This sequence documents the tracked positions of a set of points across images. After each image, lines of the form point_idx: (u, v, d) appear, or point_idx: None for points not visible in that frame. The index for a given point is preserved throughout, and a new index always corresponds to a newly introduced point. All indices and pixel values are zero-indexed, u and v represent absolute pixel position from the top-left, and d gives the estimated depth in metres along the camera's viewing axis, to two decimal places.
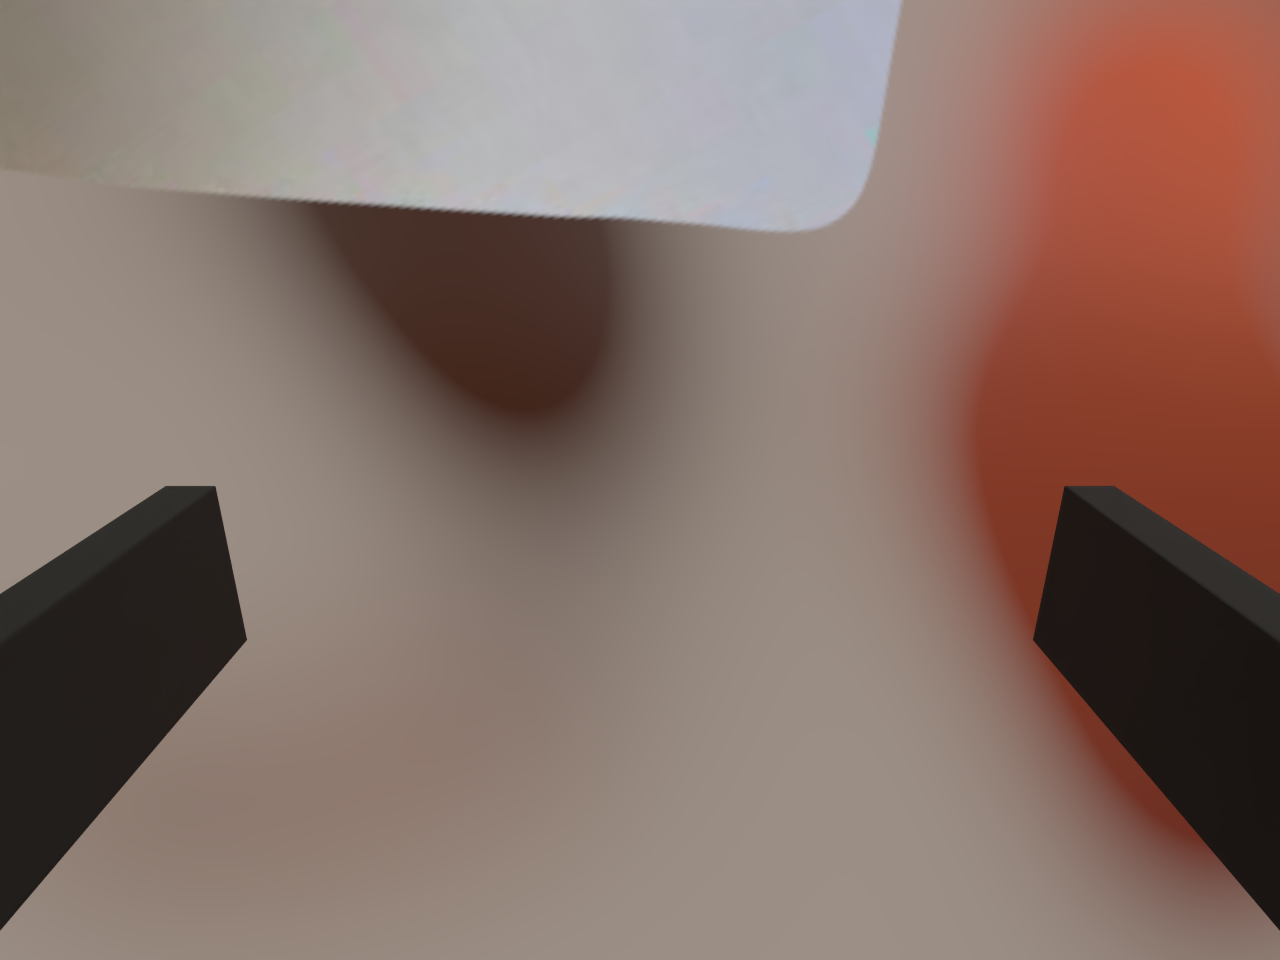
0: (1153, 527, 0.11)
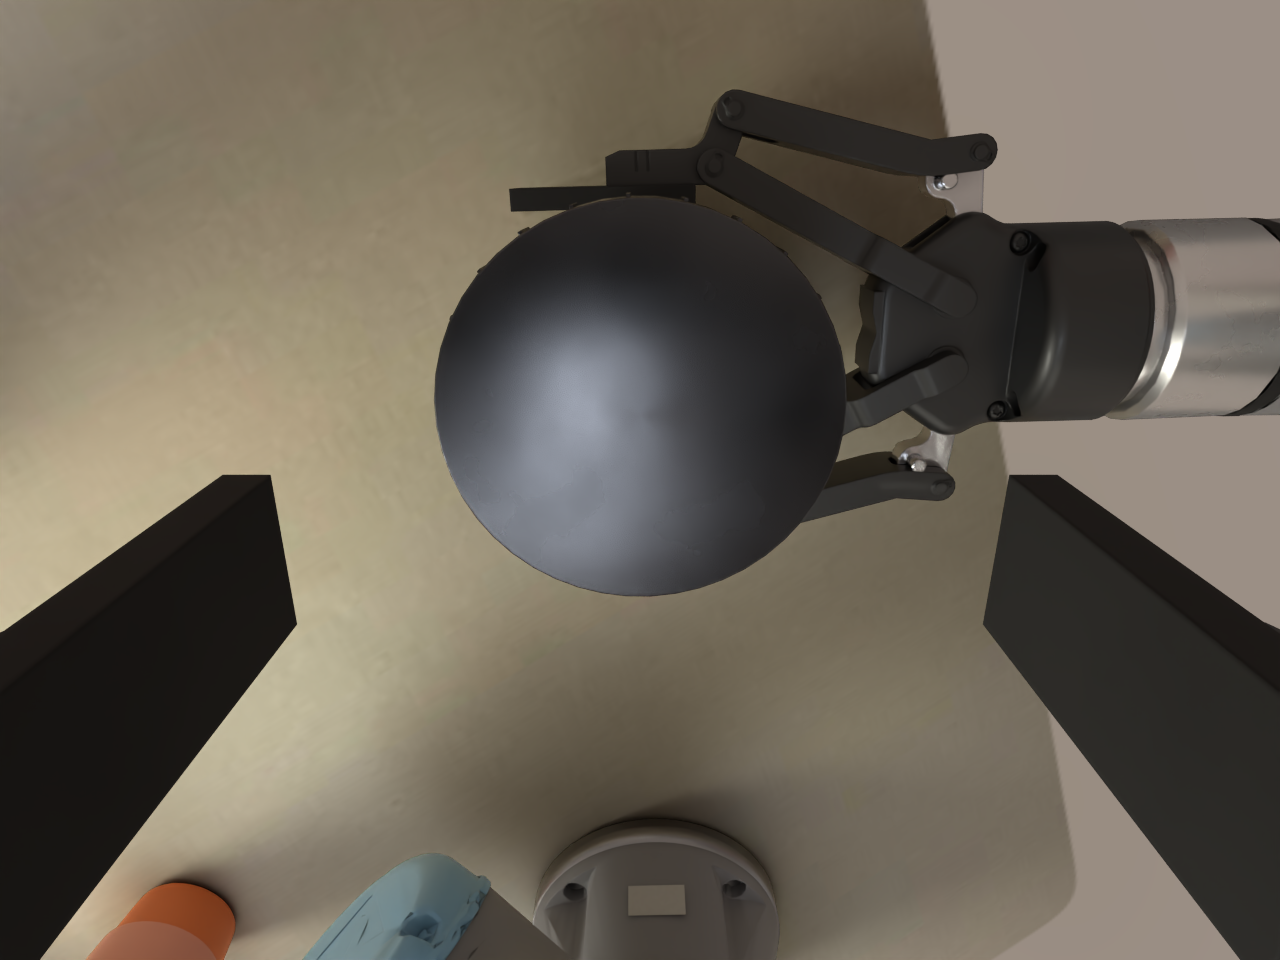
0: (1088, 512, 0.11)
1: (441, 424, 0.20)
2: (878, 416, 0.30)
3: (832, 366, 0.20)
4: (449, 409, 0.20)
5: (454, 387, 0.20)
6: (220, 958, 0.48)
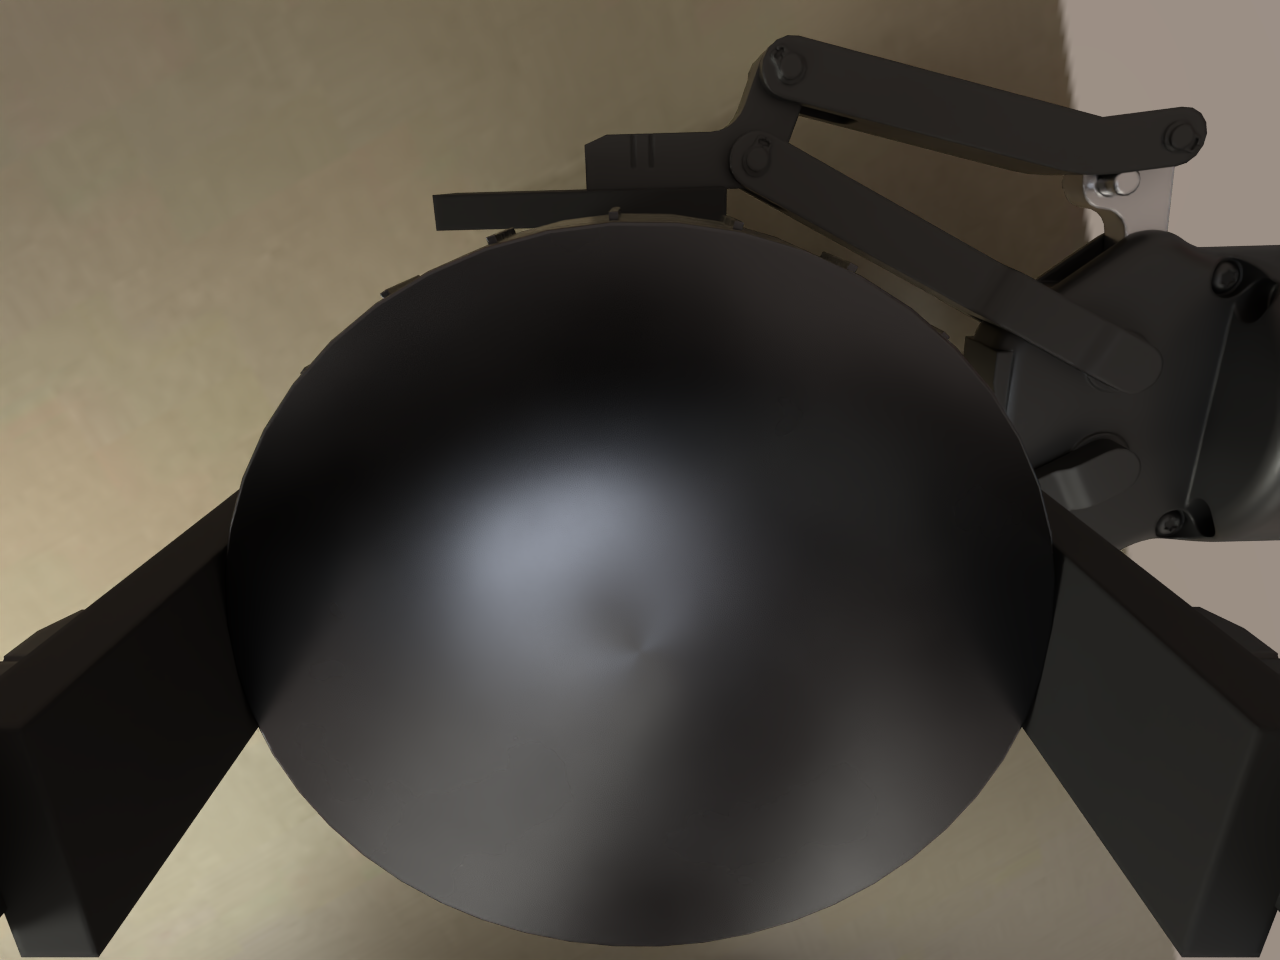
0: None
1: (244, 667, 0.10)
2: None
3: (1031, 562, 0.10)
4: (258, 640, 0.10)
5: (264, 601, 0.10)
6: None
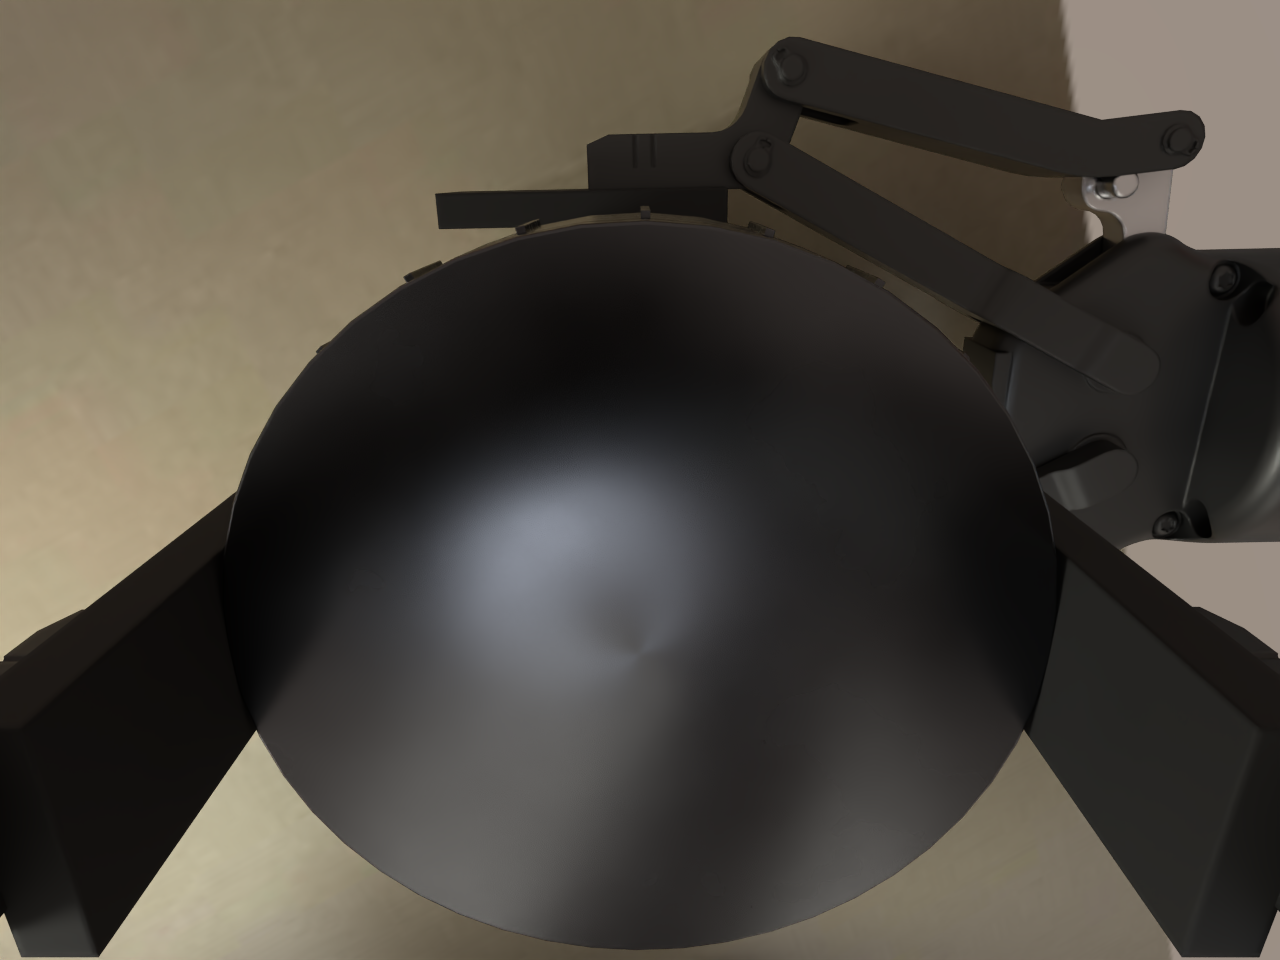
0: None
1: (721, 937, 0.12)
2: None
3: (437, 298, 0.09)
4: (692, 929, 0.12)
5: (652, 926, 0.12)
6: None
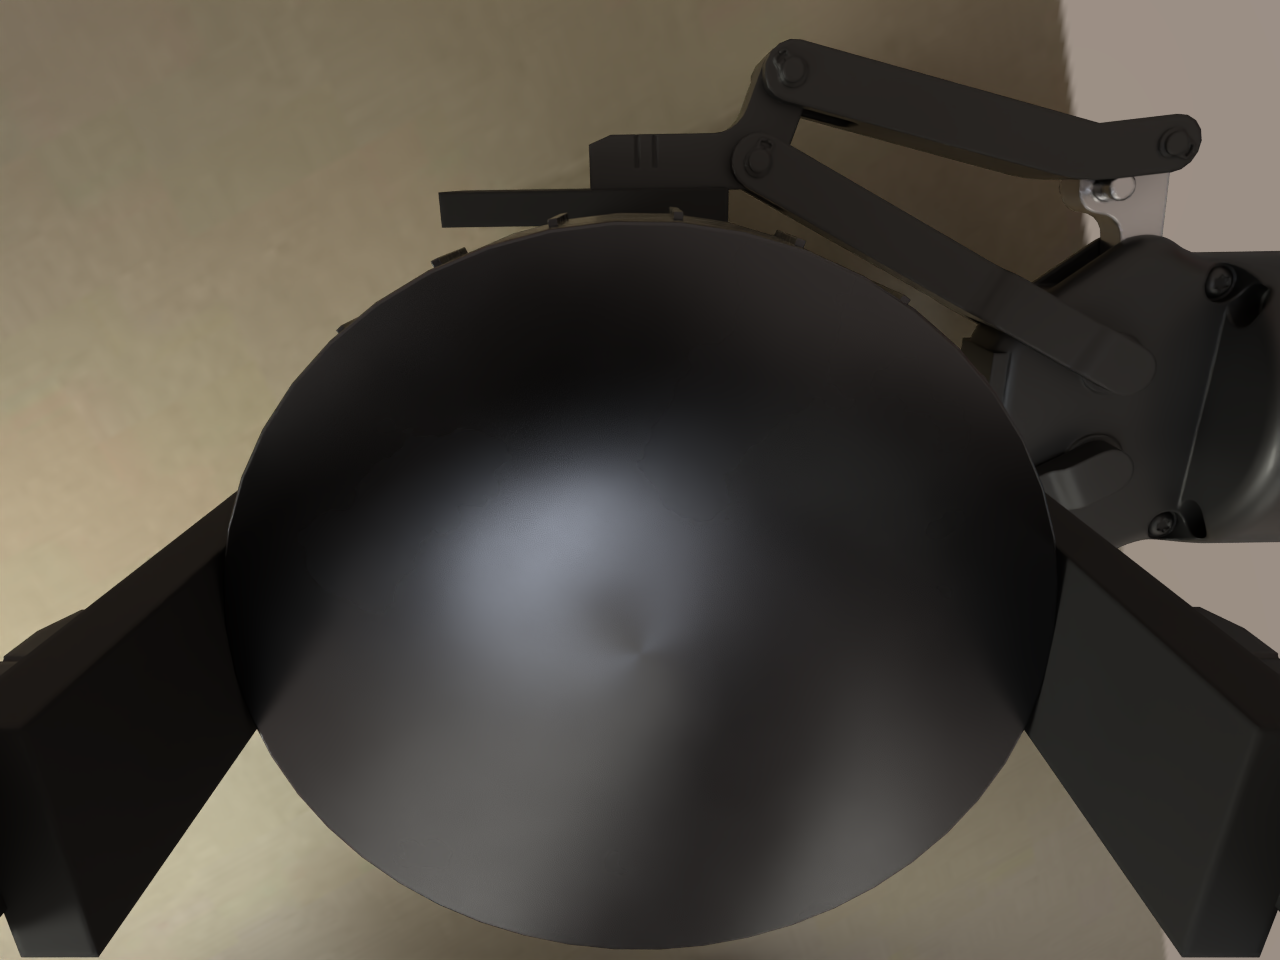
0: None
1: (1034, 497, 0.09)
2: None
3: (360, 835, 0.11)
4: (1021, 532, 0.10)
5: (1017, 576, 0.10)
6: None
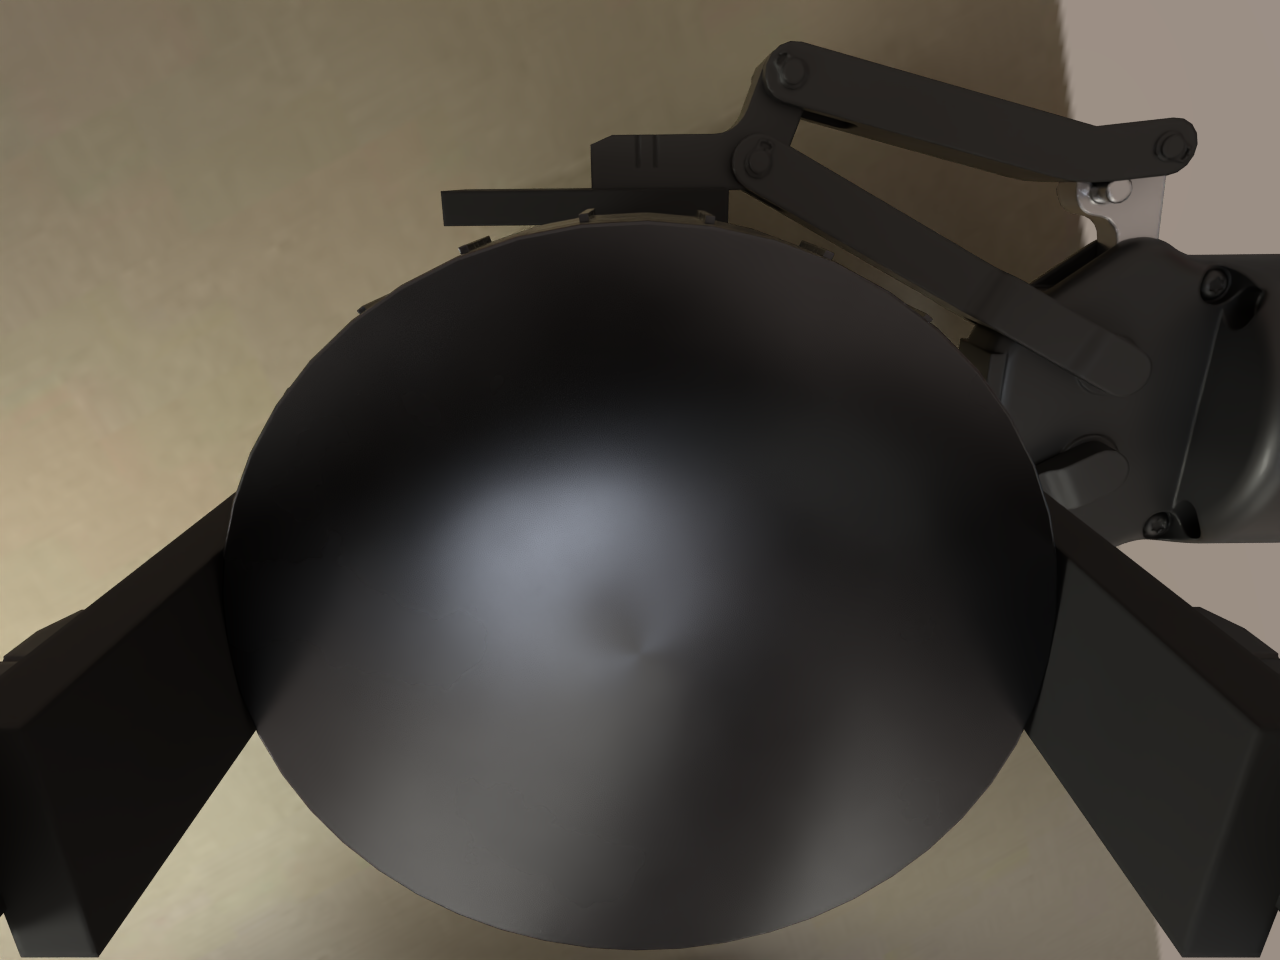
0: None
1: (363, 329, 0.09)
2: None
3: (900, 851, 0.11)
4: (406, 327, 0.09)
5: (457, 311, 0.09)
6: None
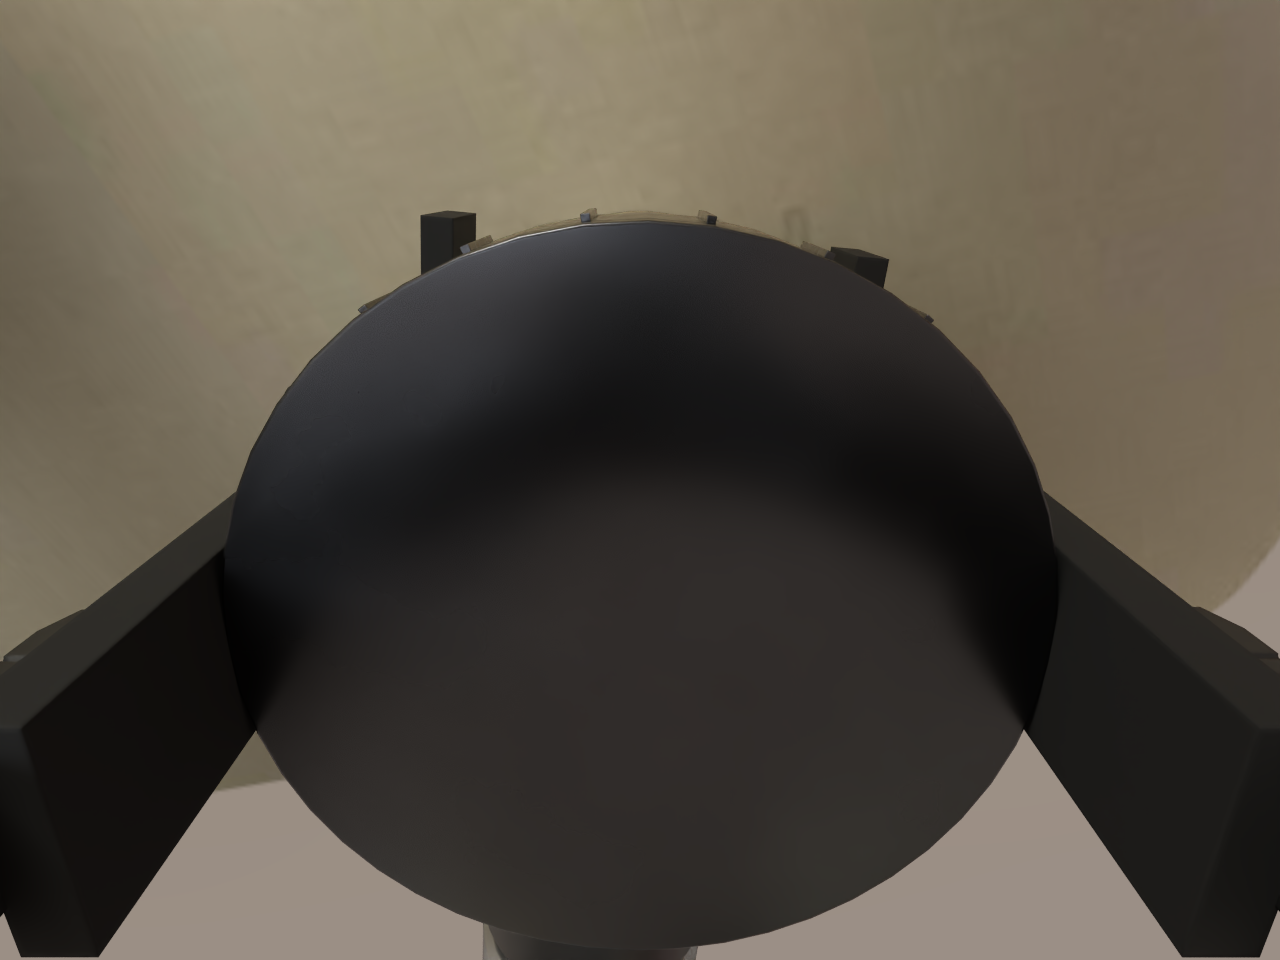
0: None
1: (364, 328, 0.09)
2: None
3: (899, 852, 0.11)
4: (407, 326, 0.09)
5: (458, 310, 0.09)
6: None
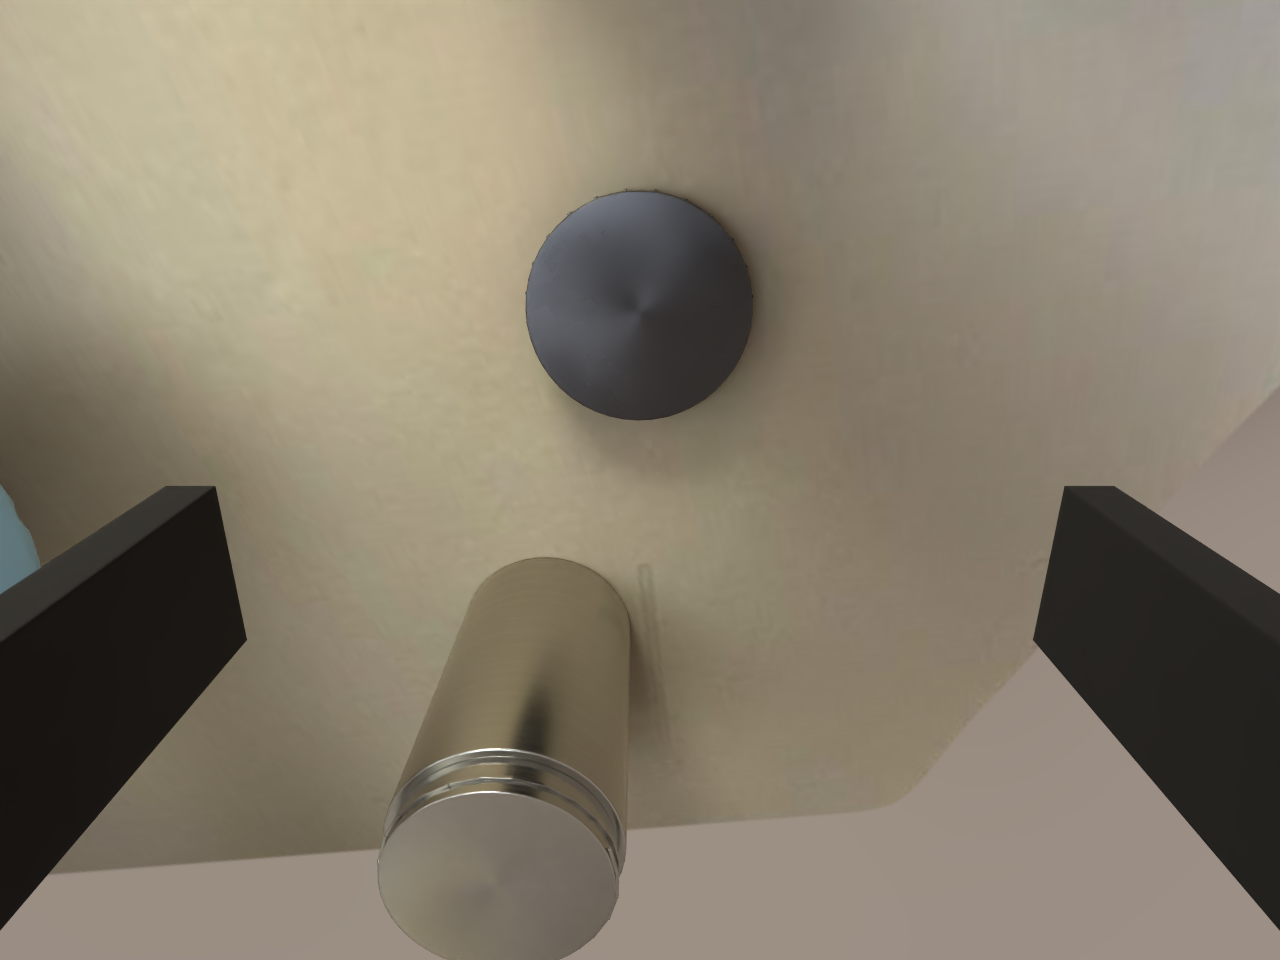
0: (1153, 527, 0.11)
1: (571, 217, 0.35)
2: None
3: (716, 380, 0.38)
4: (581, 217, 0.35)
5: (594, 213, 0.35)
6: None
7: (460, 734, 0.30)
